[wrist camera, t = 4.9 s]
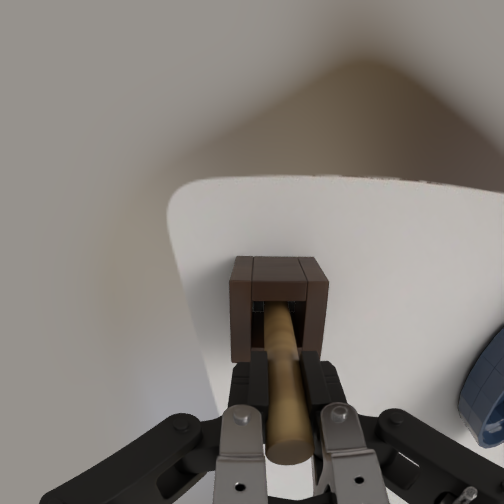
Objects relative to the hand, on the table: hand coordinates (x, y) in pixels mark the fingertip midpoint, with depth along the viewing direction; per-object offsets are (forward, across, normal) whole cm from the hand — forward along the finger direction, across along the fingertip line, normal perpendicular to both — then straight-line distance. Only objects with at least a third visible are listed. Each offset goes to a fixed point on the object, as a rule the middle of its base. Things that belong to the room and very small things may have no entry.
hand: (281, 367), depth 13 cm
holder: (+9, 0, 0) cm, 9 cm away
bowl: (+9, -29, +11) cm, 32 cm away
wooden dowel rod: (+9, 0, 0) cm, 9 cm away
